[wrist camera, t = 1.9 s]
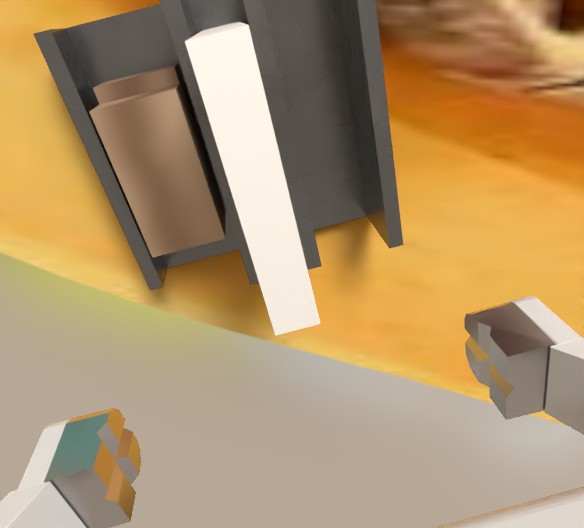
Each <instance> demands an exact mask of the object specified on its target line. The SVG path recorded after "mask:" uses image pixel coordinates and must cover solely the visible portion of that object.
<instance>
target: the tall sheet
mask: <svg viewBox="0 0 584 528" xmlns="http://www.w3.org/2000/svg"><path fill="white" fill-rule="evenodd" d="M185 44H186V47H187V50H188V53H189V57H190V60H191V63H192V66H193V70H194V73H195V76H196V79H197V83H198V86H199V89H200V92H201V96H202V99H203V102H204V105H205V109H206V112H207V115H208V118H209V122H210V125H211V128H212V131H213V135H214V138H215V141H216V144H217V148H218V151H219V154H220V157H221V161H222V164H223V167H224V170H225V174H226V177H227V180H228V183H229V186H230V190H231V193H232V196H233V199H234V203H235V206H236V209H237V212H238V216H239V219H240V222H241V225H242V229H243V232H244V235H245V238H246V242H247V245H248V248H249V251H250V255H251V258H252V261H253V264H254V268H255V271H256V274H257V277H258V281H259V284H260V287H261V290H262V294H263V297H264V300H265V303H266V307H267V310H268V313H269V316H270V320H271V323H272V326H273V329H274V333H275V336H276V335H280V334H283V333H287V332H291V331H295V330H299V329H302V328H306V327H310V326H314V325H318V324H320V320H319V316H318V312H317V307H316V303H315V299H314V295H313V291H312V287H311V283H310V278H309V274H308V270H307V266H306V262H305V258H304V253H303V249H302V245H301V241H300V237H299V233H298V228H297V224H296V220H295V216H294V212H293V208H292V204H291V199H290V195H289V191H288V187H287V183H286V179H285V174H284V170H283V166H282V162H281V158H280V154H279V149H278V145H277V141H276V137H275V133H274V129H273V124H272V120H271V116H270V112H269V108H268V104H267V100H266V95H265V91H264V87H263V83H262V79H261V75H260V70H259V66H258V62H257V58H256V54H255V50H254V45H253V41H252V37H251V33H250V29H249V25H247V24H245V23H242V22H239V21H237V22H234V23H230V24H226V25H222V26H218V27H214V28H210V29H206V30H203V31H201V32H199V33H198V34H196V35H194V36H193V37H191V38H189V39H188V40H186V41H185Z"/></svg>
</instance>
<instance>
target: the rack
mask: <svg viewBox="0 0 584 528" xmlns="http://www.w3.org/2000/svg"><path fill="white" fill-rule="evenodd" d="M160 3H161V4H159V5H155V6H151V7H147V8H143V9H139V10H135V11H132V12H128V13H124V14H120V15H116V16H112V17H108V18H104V19H101V20H97V21H93V22H89V23H85V24H81V25H77V26H73V27H70V28H64V29H50V30H47V31H43V32H39V33H35V34H34V36H35V38H36V41H37V43H38V45H39V47H40V49H41V51H42V54H43V56H44V58H45V60H46V62H47V65H48V67H49V69H50V71H51V73H52V76H53V78H54V80H55V82H56V84H57V87H58V89H59V91H60V93H61V95H62V98H63V100H64V102H65V104H66V106H67V109H68V111H69V113H70V115H71V117H72V120H73V122H74V124H75V126H76V128H77V130H78V133H79V135H80V137H81V139H82V141H83V144H84V146H85V148H86V150H87V152H88V155H89V157H90V159H91V161H92V163H93V166H94V168H95V170H96V172H97V174H98V177H99V179H100V181H101V183H102V185H103V188H104V190H105V192H106V194H107V196H108V199H109V201H110V203H111V205H112V207H113V209H114V212H115V214H116V216H117V218H118V220H119V223H120V225H121V227H122V229H123V231H124V234H125V236H126V238H127V240H128V242H129V245H130V247H131V249H132V251H133V253H134V256H135V258H136V260H137V262H138V264H139V267H140V269H141V271H142V273H143V275H144V278H145V280H146V282H147V284H148V286H149V289H150V290H153V289H157V288H161V287H163V285H164V280H165V276H166V272H167V268H170V267H174V266H177V265H181V264H185V263H189V262H193V261H197V260H200V259H204V258H208V257H212V256H216V255H220V254H223V253H227V252H231V251H235V250H240V253H241V256H242V259H243V262H244V265H245V268H246V271H247V275H248V278H249V281H250V284H255V283H259V281H258V277H257V274H256V271H255V268H254V264H253V261H252V258H251V255H250V251H249V248H248V245H247V242H246V238H245V235H244V232H243V229H242V225H241V222H240V219H239V216H238V212H237V209H236V206H235V203H234V199H233V196H232V193H231V190H230V186H229V183H228V180H227V177H226V174H225V170H224V167H223V164H222V161H221V157H220V154H219V151H218V148H217V144H216V141H215V138H214V135H213V131H212V128H211V125H210V122H209V118H208V115H207V112H206V109H205V105H204V102H203V99H202V96H201V92H200V89H199V86H198V83H197V79H196V76H195V73H194V70H193V66H192V63H191V60H190V57H189V53H188V50H187V47H186V44H185V41H186V40H188V39H189V38H191V37H193V36H194V35H196V34H198V33H199V32H201V31H203V30H206V29H210V28H214V27H218V26H222V25H226V24H230V23H234V22H237V21H239V22H242V23H245V24H247V25H249V29H250V33H251V37H252V41H253V45H254V50H255V54H256V58H257V62H258V66H259V70H260V75H261V79H262V83H263V87H264V91H265V95H266V100H267V104H268V108H269V112H270V116H271V120H272V124H273V129H274V133H275V137H276V141H277V145H278V149H279V154H280V158H281V162H282V166H283V170H284V174H285V179H286V183H287V187H288V191H289V195H290V199H291V204H292V208H293V212H294V216H295V220H296V224H297V228H298V233H299V237H300V241H301V245H302V249H303V253H304V258H305V262H306V265H307V268H308V270H309V269H312V268H316V267H320V266H321V261H320V257H319V252H318V248H317V243H316V239H315V234H314V230H315V229H319V228H323V227H327V226H331V225H334V224H338V223H342V222H346V221H350V220H354V219H357V218H361V217H365V216H367V217H368V219H369V220H370V222H371V223H372V224H373V226H374V227H375V229H376V230H377V231H378V233H379V234H380V236H381V237H382V238H383V240H384V241H385V243H386V244H387V245H388V247H389V248H393V247H397V246H400V245H403V239H402V230H401V221H400V213H399V204H398V195H397V186H396V177H395V168H394V159H393V151H392V142H391V133H390V124H389V115H388V106H387V98H386V89H385V80H384V71H383V62H382V53H381V45H380V36H379V27H378V18H377V9H376V0H160ZM177 63H178V66H179V69H180V72H181V75H182V78H183V81H184V84H185V88H186V91H187V94H188V97H189V100H190V103H191V106H192V109H193V112H194V116H195V119H196V122H197V125H198V128H199V131H200V134H201V137H202V140H203V143H204V147H205V150H206V153H207V156H208V159H209V162H210V165H211V168H212V171H213V174H214V178H215V181H216V184H217V187H218V190H219V193H220V196H221V199H222V202H223V206H224V209H225V233H226V239H222V240H218V241H214V242H210V243H207V244H203V245H199V246H195V247H191V248H187V249H184V250H180V251H176V252H172V253H168V254H165V255H161V256H157V257H152V255H151V253H150V250H149V248H148V246H147V243H146V241H145V239H144V237H143V234H142V232H141V230H140V227H139V225H138V223H137V220H136V218H135V216H134V214H133V211H132V209H131V207H130V204H129V202H128V200H127V197H126V195H125V193H124V190H123V188H122V186H121V184H120V181H119V179H118V177H117V174H116V172H115V170H114V167H113V165H112V163H111V161H110V158H109V156H108V154H107V151H106V149H105V147H104V144H103V142H102V140H101V137H100V135H99V133H98V131H97V128H96V126H95V124H94V121H93V119H92V117H91V114H90V112H89V111H91V110H92V109H94V108H95V107H97V106H98V105H100V104H99V102H98V99H97V97H96V95H95V92H94V90H93V88H94V87H96V86H97V85H99V84H101V83H104V82H108V81H112V80H115V79H119V78H123V77H127V76H131V75H135V74H139V73H142V72H146V71H150V70H154V69H158V68H162V67H166V66H170V65H173V64H177Z"/></svg>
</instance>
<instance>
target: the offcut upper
mask: <svg viewBox="0 0 584 528" xmlns="http://www.w3.org/2000/svg"><path fill="white" fill-rule="evenodd" d="M89 112H90V114H91V117H92V119H93V121H94V124H95V126H96V128H97V131H98V133H99V135H100V137H101V140H102V142H103V144H104V147H105V149H106V151H107V154H108V156H109V158H110V161H111V163H112V165H113V167H114V170H115V172H116V174H117V177H118V179H119V181H120V184H121V186H122V188H123V190H124V193H125V195H126V197H127V200H128V202H129V204H130V207H131V209H132V211H133V214H134V216H135V218H136V220H137V223H138V225H139V227H140V230H141V232H142V234H143V237H144V239H145V241H146V243H147V246H148V248H149V250H150V253H151V255H152V257H157V256H161V255H165V254H168V253H172V252H176V251H180V250H184V249H187V248H191V247H195V246H199V245H203V244H207V243H210V242H214V241H218V240H222V239H226V233H225V221H224V218H223V215H222V212H221V209H220V206H219V203H218V200H217V197H216V194H215V191H214V188H213V185H212V181H211V178H210V175H209V172H208V169H207V166H206V163H205V160H204V157H203V154H202V151H201V148H200V145H199V142H198V139H197V136H196V133H195V129H194V126H193V123H192V120H191V117H190V114H189V111H188V108H187V105H186V102H185V99H184V96H183V93H182V90H181V87H180V84H177V85H173V86H169V87H165V88H161V89H157V90H153V91H150V92H146V93H142V94H138V95H134V96H130V97H126V98H122V99H119V100H115V101H111V102H107V103H103V104H100V105H98V106H97V107H95V108H94V109H92V110H91V111H89Z"/></svg>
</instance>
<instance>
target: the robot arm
mask: <svg viewBox="0 0 584 528" xmlns="http://www.w3.org/2000/svg"><path fill="white" fill-rule="evenodd" d="M465 329H466V330H467V332H468V333H469V334H470V337H469V338H468V340H467V341H466V343H465V345H466V355H467V358H468V362H469V365H470V367H471V369H472V371H473V373H474V375H475V376H476V378H477V379H478V381H479V382H480V383H482V384H484V385H486V386H489V387H490V398H491V399H492V401H493V402H494V403H495V405H496V406H497V407H498V409H499V410H500V412H501V413H502V414H503V416H504V417H505V419H511V418H515V417H519V416H523V415H527V414H532V413H536V412H540V411H544V410H545V413H547V414H549V415H550V416H552V417H554V418H556V419H557V420H559V421H561V422H563V423H565V424H566V425H568V426H570V427H572V428H573V429H575V430H577V431H579V432H580V433H582V434H584V338H581V337H580V336H579V335H578V334H577V333H576V332H575V331H573V330H572V329H571V328H570V327H569V326H568V325H567V324H566V323H564V322H563V321H562V320H561V319H560V318H559V317H558V316H556V315H555V314H554V313H553V312H552V311H551V310H550V309H548V308H547V307H546V306H545V305H544V304H543V303H542V302H540V301H539V300H538V299H537V298H536V297H533V296H527V297H523V298H520V299H516V300H513V301H509V302H508V303H504V304H500V305H496V306H493V307H489V308H486V309H482V310H478V311H475V312H471V313H467V314H466V316H465ZM124 421H125V419H124V417H123V415H122V414H121V412H120V411H119V410H118V409H109V410H104V411H100V412H96V413H92V414H88V415H84V416H80V417H76V418H72V419H70V420H65V421H61V422H57V423H53V424H49V425H48V426H47V427H46V428H45V429H44V430H43V432H42V435H41V437H40V439H39V442H38V444H37V446H36V448H35V451H34V453H33V455H32V458H31V460H30V462H29V465H28V467H27V469H26V471H25V474H24V476H23V478H22V481H21V483H20V485H19V488H18V490H15V491H12V492H10V493H9V494H8V495H7V496H6V497H5V498H4V499H3V500H2V501H1V502H0V528H109V527H113V526H116V525H120V524H123V523H126V522H130V521H131V516H132V511H133V505H134V499H135V494H136V492H135V490H134V489H133V487H132V486H131V484H132V483H133V481H134V480H135V479H136V477H137V476H138V475H139V472H140V465H141V457H140V448H139V444H138V441H137V439H136V437H135V436H134V434H133V432H131V431H129V430H127V429H125V428H123V425H124ZM435 528H584V487H581V488H578V489H574V490H570V491H567V492H563V493H560V494H556V495H552V496H549V497H545V498H541V499H538V500H534V501H530V502H526V503H523V504H519V505H515V506H512V507H508V508H505V509H501V510H497V511H493V512H490V513H486V514H482V515H479V516H475V517H472V518H468V519H464V520H461V521H457V522H453V523H450V524H446V525H442V526H439V527H435Z"/></svg>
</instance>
